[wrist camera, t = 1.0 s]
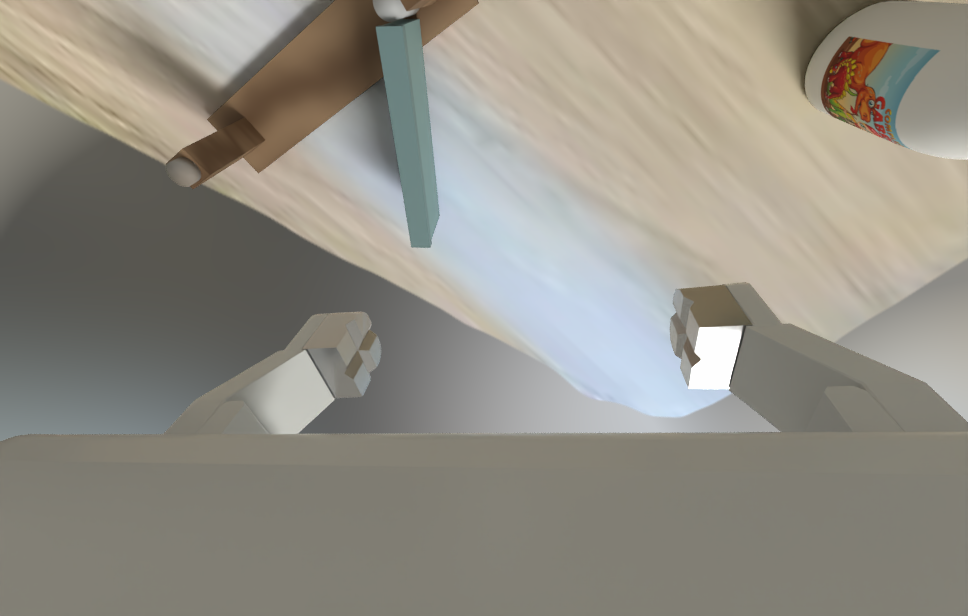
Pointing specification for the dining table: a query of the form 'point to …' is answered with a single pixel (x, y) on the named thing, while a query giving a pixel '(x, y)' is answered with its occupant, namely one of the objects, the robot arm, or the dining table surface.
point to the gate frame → (303, 87)
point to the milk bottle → (898, 75)
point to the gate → (409, 116)
